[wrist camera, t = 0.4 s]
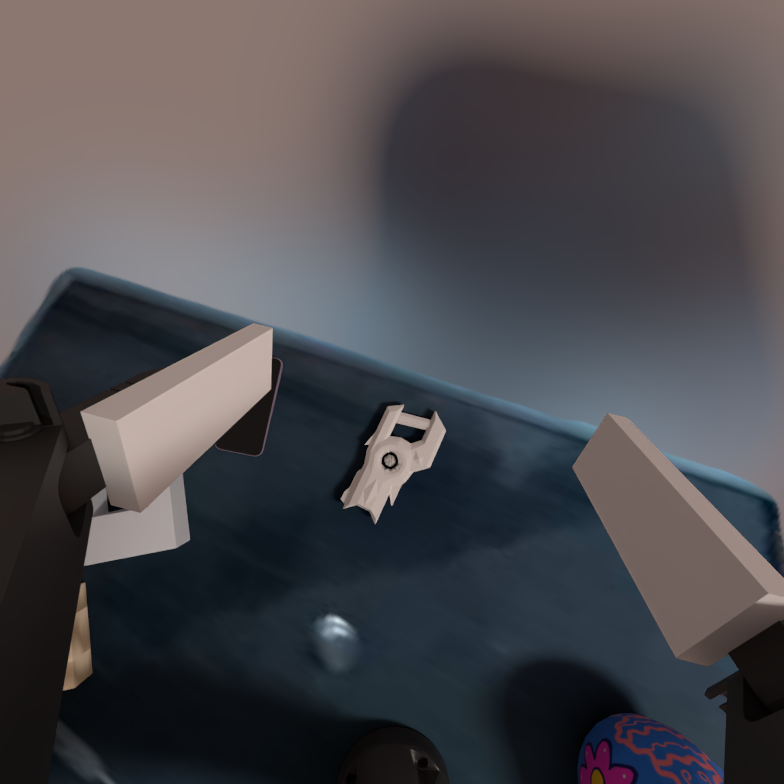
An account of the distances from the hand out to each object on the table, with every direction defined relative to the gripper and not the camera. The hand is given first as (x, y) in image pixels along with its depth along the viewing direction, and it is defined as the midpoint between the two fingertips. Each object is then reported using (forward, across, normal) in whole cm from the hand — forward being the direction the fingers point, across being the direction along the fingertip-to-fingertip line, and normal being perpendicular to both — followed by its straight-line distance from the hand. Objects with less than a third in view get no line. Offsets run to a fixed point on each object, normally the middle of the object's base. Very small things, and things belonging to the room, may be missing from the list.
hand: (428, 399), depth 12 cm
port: (+18, +35, +36) cm, 53 cm away
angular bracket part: (+26, -1, +26) cm, 37 cm away
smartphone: (+27, +23, +23) cm, 42 cm away
